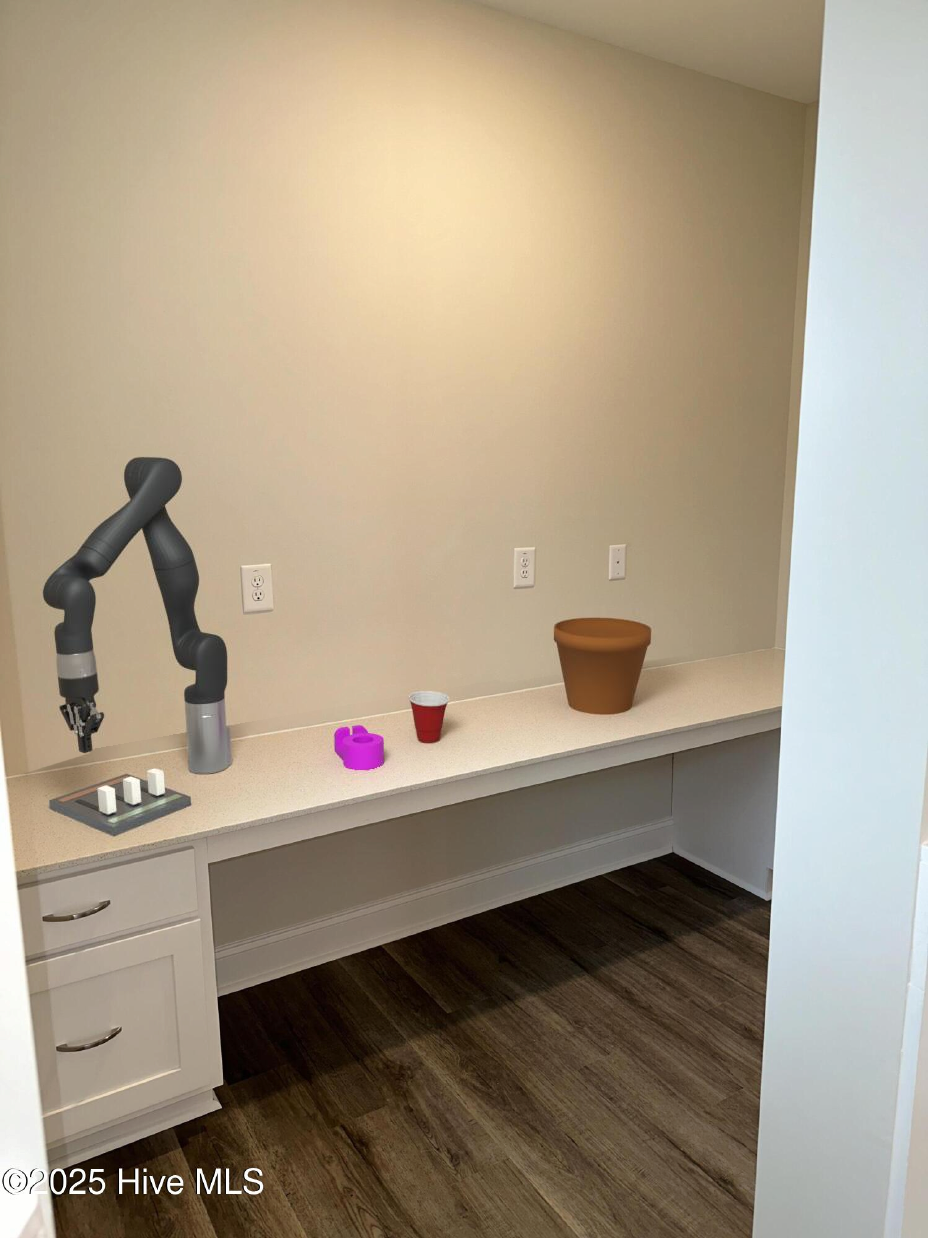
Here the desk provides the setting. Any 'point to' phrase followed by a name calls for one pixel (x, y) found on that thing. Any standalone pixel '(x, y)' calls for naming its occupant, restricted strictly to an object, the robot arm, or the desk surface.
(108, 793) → the switch
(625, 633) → the flowerpot
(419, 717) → the plastic cup
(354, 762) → the tape dispenser
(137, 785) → the switch middle
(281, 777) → the desk surface
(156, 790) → the switch
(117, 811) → the switch panel
